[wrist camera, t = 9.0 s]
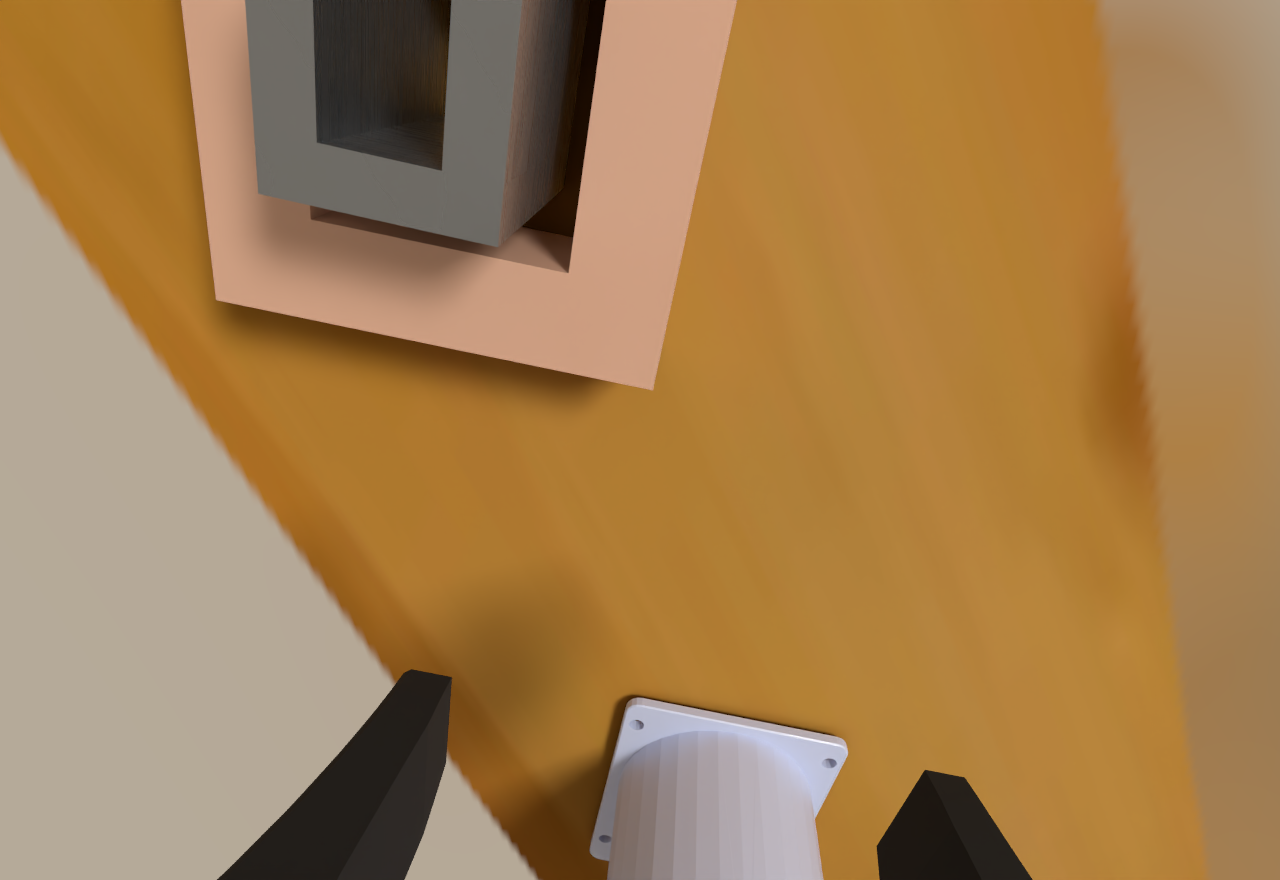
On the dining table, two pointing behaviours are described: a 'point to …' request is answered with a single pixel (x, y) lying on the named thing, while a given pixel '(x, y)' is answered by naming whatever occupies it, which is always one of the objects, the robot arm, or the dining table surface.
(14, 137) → the dining table surface
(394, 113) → the bracket
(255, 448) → the dining table surface
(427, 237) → the well
